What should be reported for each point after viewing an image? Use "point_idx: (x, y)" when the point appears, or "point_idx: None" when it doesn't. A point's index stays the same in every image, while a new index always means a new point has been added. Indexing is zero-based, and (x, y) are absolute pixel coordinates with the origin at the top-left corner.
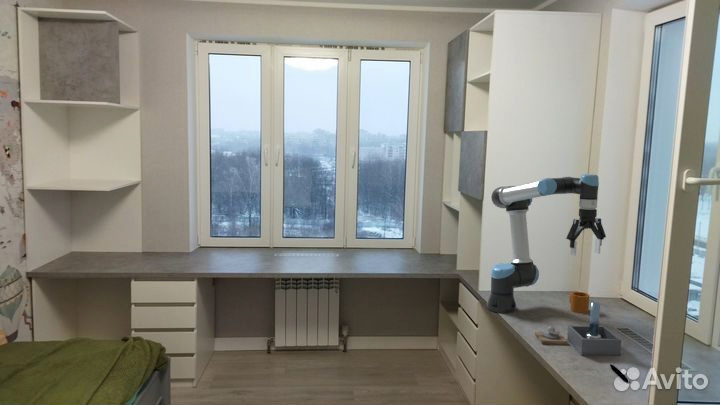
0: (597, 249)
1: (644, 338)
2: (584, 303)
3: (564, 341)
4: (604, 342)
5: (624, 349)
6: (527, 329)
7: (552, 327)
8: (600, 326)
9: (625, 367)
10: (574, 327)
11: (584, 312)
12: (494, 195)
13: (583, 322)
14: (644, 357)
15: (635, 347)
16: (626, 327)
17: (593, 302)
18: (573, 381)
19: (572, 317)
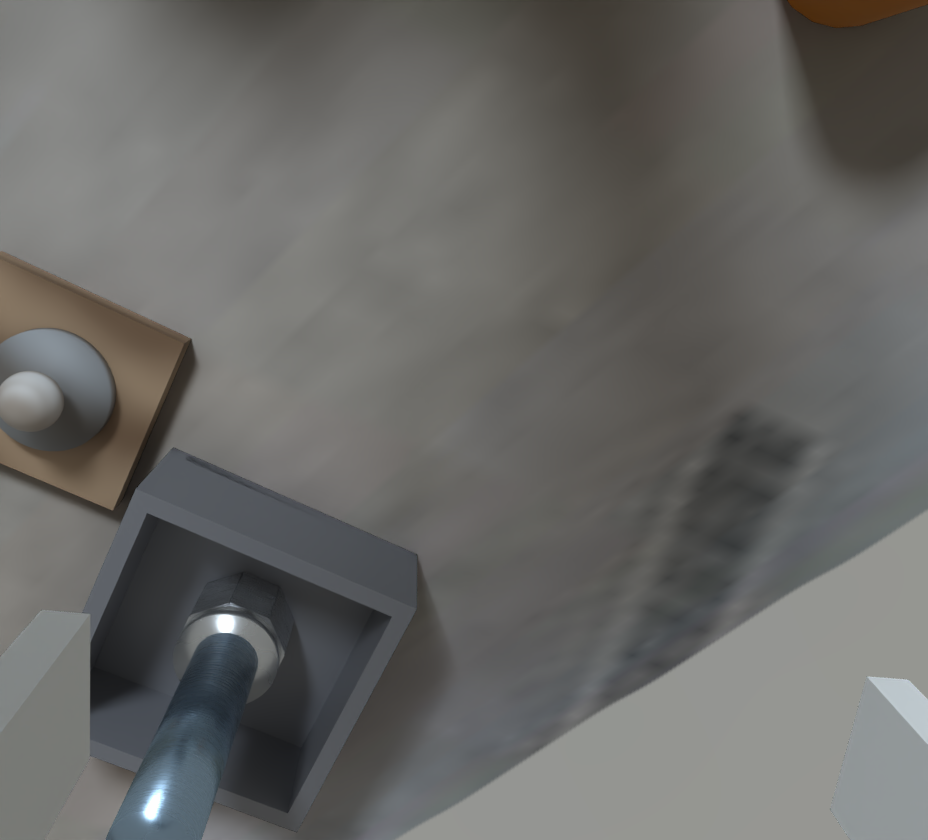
0: (894, 835)
1: (720, 625)
2: (866, 5)
3: (90, 499)
4: None
5: (426, 697)
6: (19, 125)
7: (19, 421)
8: (377, 603)
9: None
10: (175, 521)
11: (827, 23)
12: None
13: (608, 206)
14: (433, 814)
15: (521, 701)
16: (813, 433)
17: (147, 827)
18: None
19: (627, 63)
